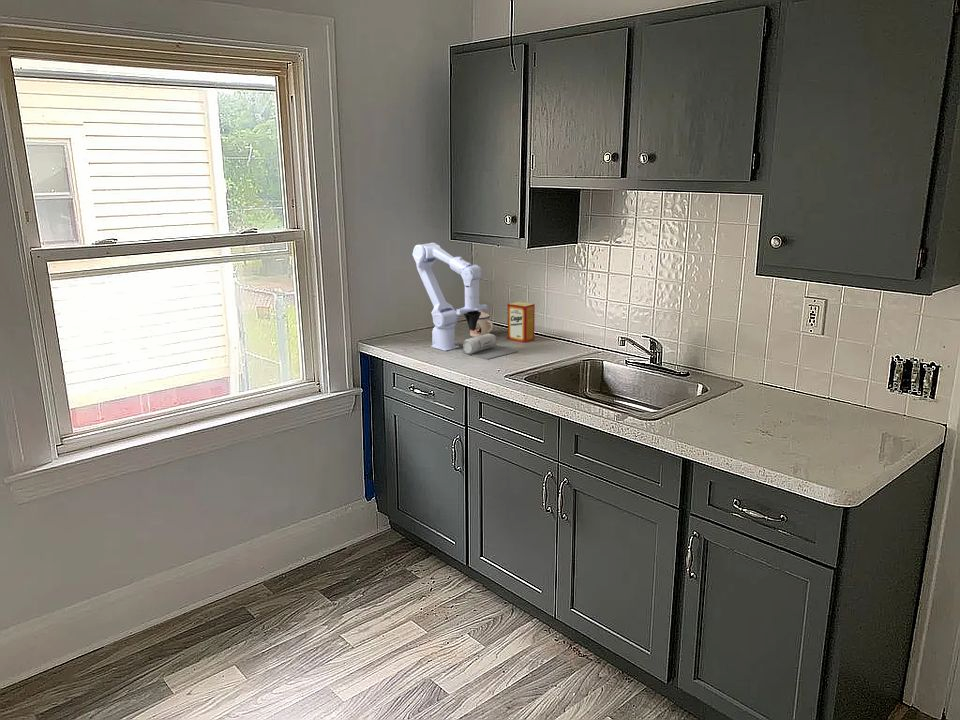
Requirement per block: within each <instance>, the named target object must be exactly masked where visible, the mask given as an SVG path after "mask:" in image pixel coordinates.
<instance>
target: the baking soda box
mask: <svg viewBox="0 0 960 720" xmlns="http://www.w3.org/2000/svg"><path fill="white" fill-rule="evenodd" d="M535 306H536V304H535V303H530V302H522V301H514V302H510V303H509V302H508V303H507V340H510V341H513V342H519V343H525V344H526V343H529V342H532V341H534V340H535V313H536V312H535V309H536V308H535Z"/></svg>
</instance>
